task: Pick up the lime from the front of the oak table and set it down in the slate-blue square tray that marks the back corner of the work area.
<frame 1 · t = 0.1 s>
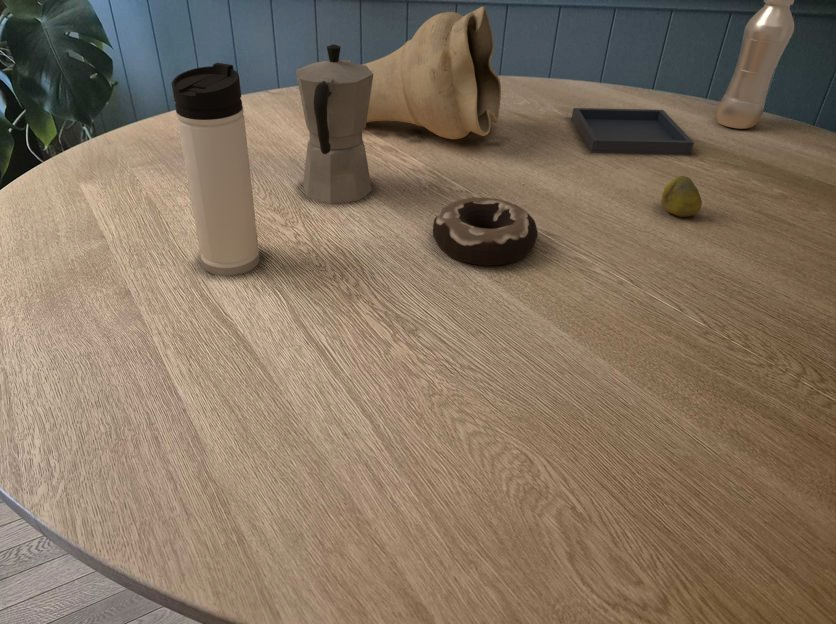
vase: (410, 131, 105), on the table
corner tray: (626, 137, 103), on the table
coffeepot: (335, 195, 87), on the table
travel mug: (232, 263, 73), on the table
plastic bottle: (734, 127, 108), on the table
donut: (482, 247, 76), on the table
lime: (676, 217, 82), on the table
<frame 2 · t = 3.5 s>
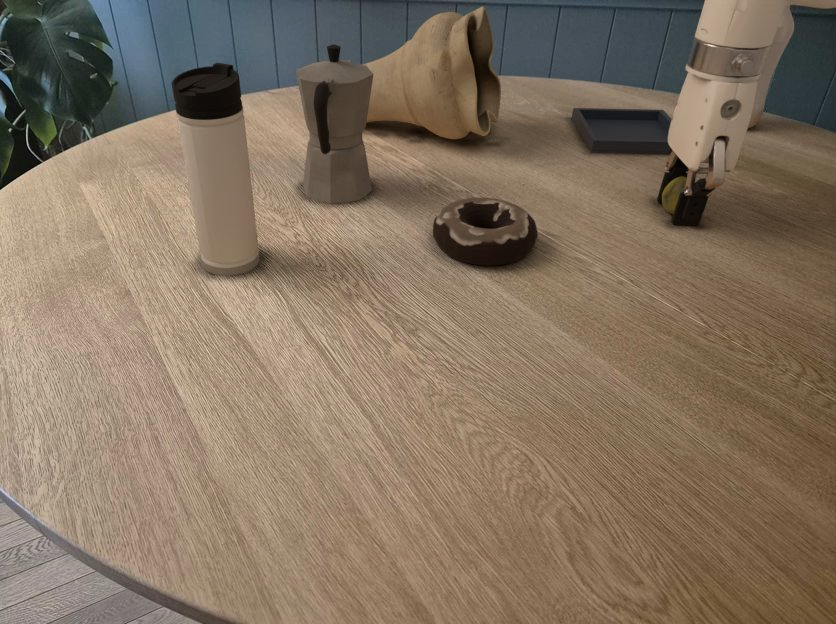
hand: (677, 211, 82), 0 cm above the table, tool pointing down, fingers closed on lime, 5 cm apart
lime: (676, 217, 82), on the table, touching gripper
everything else where it was.
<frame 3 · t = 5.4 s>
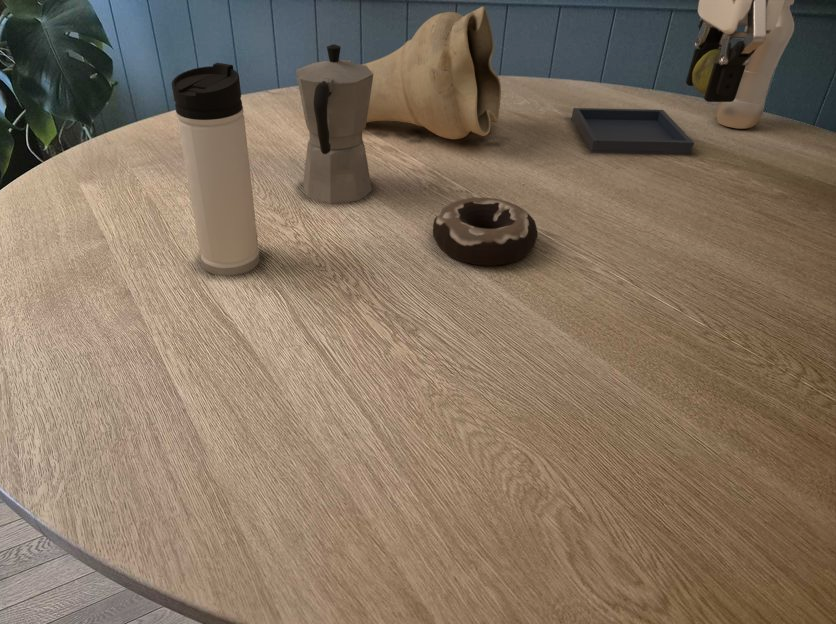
hand: (709, 91, 76), 14 cm above the table, tool pointing down, fingers closed on lime, 5 cm apart
lime: (707, 97, 76), point 14 cm above the table, touching gripper
everything else where it was.
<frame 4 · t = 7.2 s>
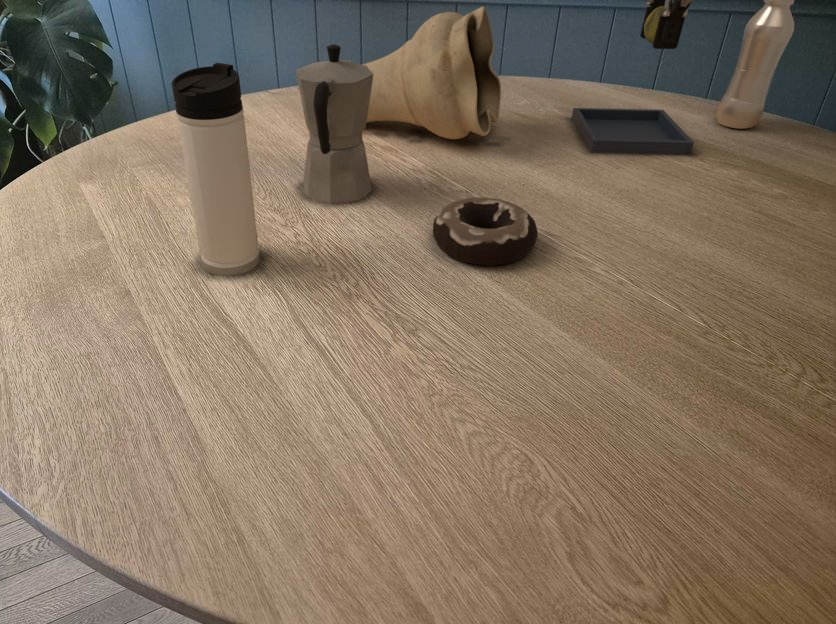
hand: (657, 41, 92), 15 cm above the table, tool pointing down, fingers closed on lime, 5 cm apart
lime: (656, 47, 92), point 14 cm above the table, touching gripper
everything else where it was.
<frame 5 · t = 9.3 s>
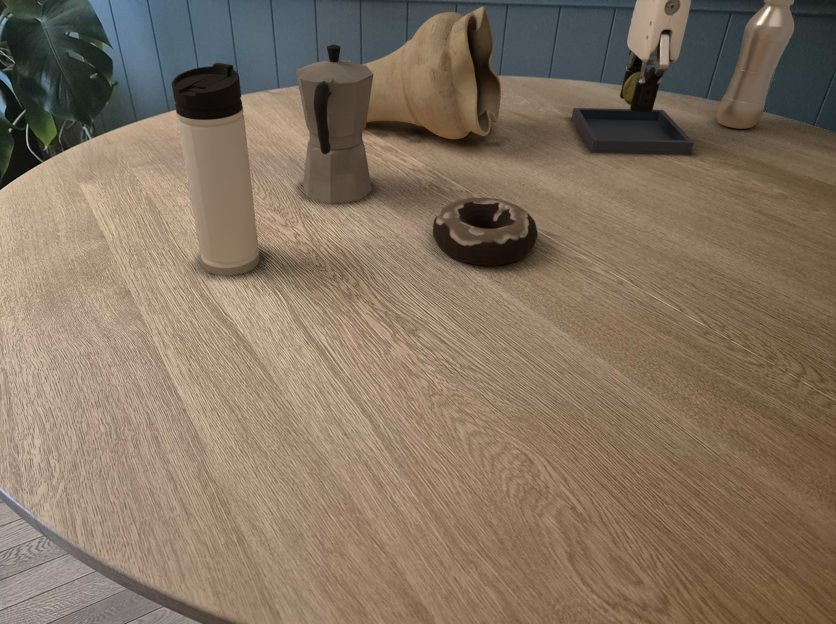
hand: (635, 103, 100), 5 cm above the table, tool pointing down, fingers closed on lime, 5 cm apart
lime: (634, 108, 100), point 5 cm above the table, touching gripper
everything else where it was.
when the fingers open (1 cm above the table, at t = 10.8 s): lime stays where it is, resting on corner tray.
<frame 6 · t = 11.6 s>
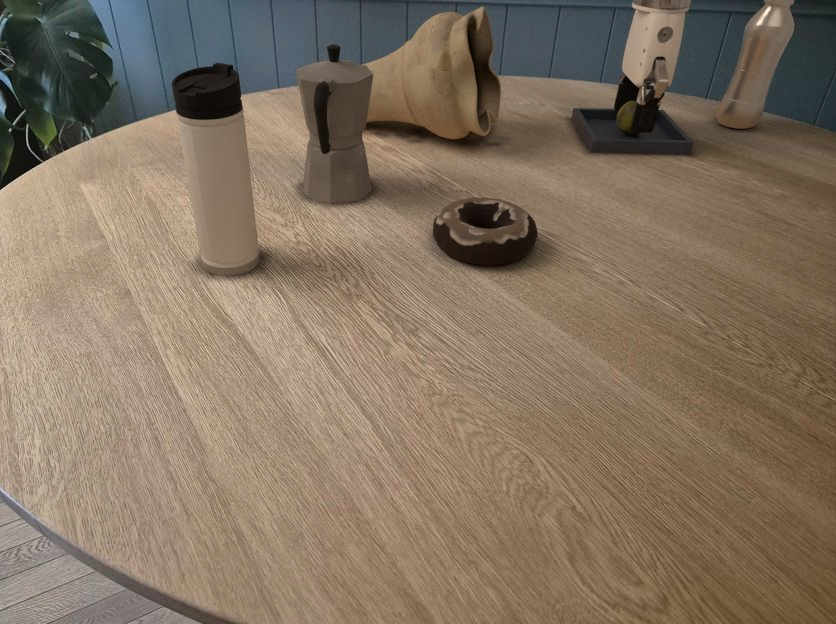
hand: (632, 120, 102), 3 cm above the table, tool pointing down, fingers open, 9 cm apart
lime: (628, 135, 103), resting on corner tray
everything else where it was.
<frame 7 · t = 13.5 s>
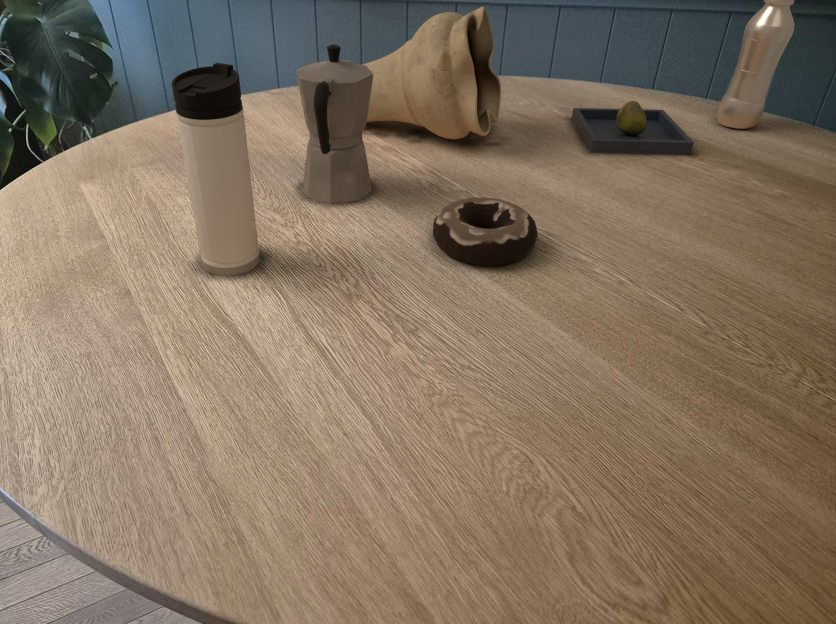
nothing on the table moved.
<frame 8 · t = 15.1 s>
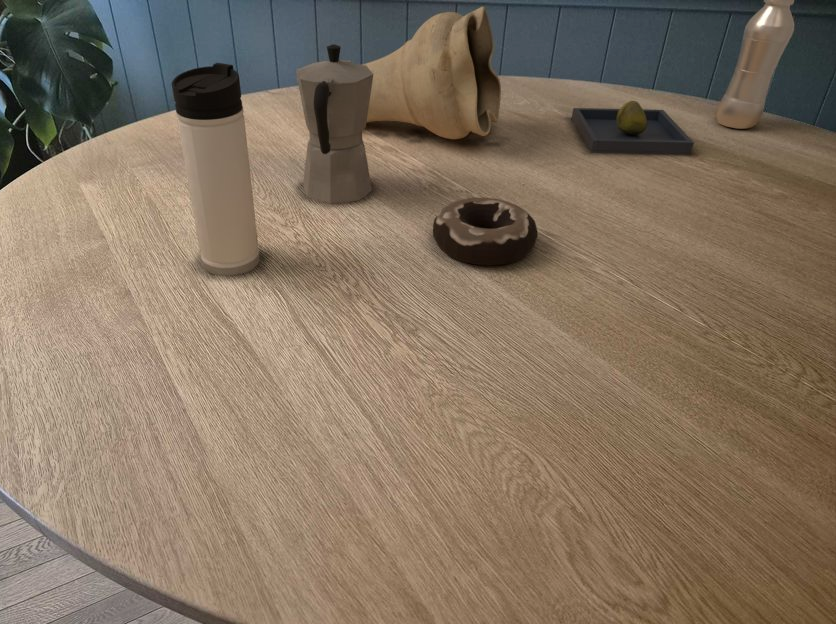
nothing on the table moved.
at the end: lime inside the target area in the corner tray (0.2 cm from its centre), point 0.4 cm above the corner tray's base; the gripper is holding nothing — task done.
